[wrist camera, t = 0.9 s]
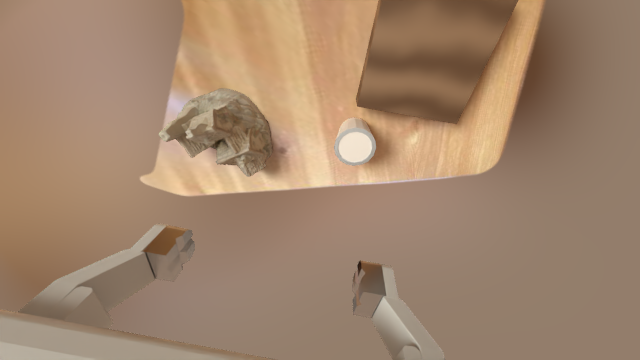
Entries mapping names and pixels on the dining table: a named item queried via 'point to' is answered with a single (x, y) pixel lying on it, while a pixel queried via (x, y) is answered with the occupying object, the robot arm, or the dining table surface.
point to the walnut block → (429, 55)
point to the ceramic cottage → (223, 130)
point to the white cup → (354, 142)
